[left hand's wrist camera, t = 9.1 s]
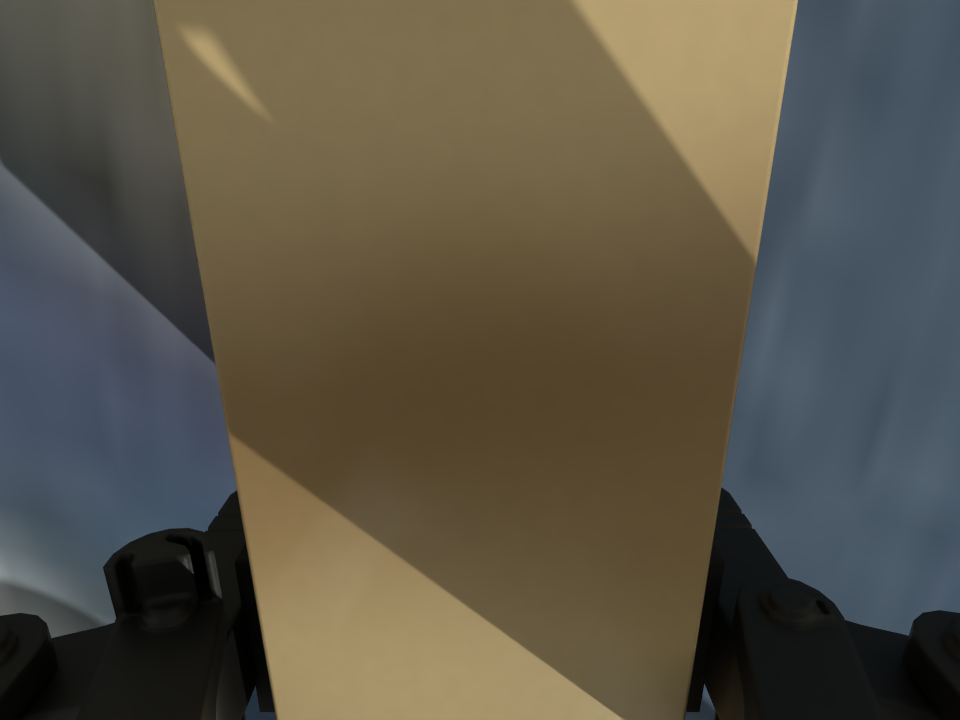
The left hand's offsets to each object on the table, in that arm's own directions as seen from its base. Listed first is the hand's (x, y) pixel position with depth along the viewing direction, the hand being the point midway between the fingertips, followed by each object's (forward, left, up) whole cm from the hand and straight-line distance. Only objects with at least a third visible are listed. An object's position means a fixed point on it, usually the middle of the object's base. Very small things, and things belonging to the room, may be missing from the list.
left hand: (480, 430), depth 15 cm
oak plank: (+18, 0, 0) cm, 18 cm away
